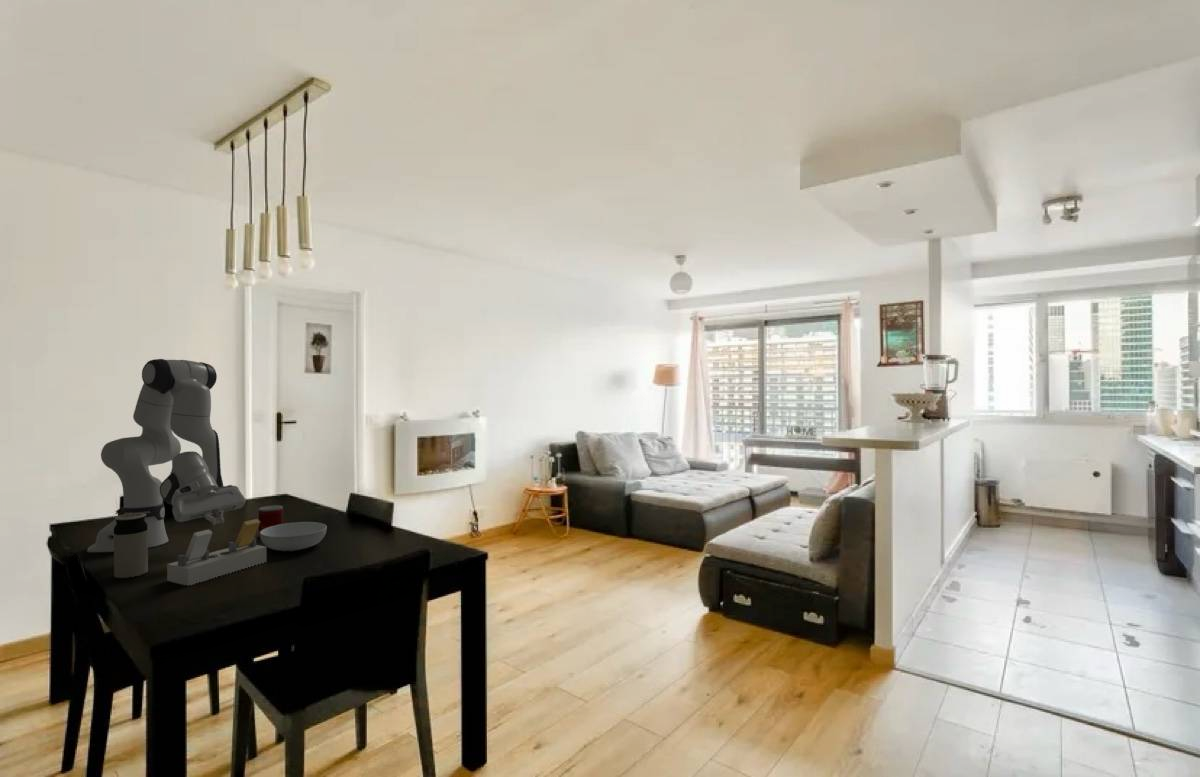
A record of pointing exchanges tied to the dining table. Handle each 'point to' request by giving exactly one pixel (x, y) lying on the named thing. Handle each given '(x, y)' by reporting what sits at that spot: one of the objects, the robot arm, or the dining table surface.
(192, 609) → the dining table surface
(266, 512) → the canned food
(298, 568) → the dining table surface
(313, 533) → the serving bowl
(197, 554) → the white paddle
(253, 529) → the amber paddle
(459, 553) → the dining table surface
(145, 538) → the travel mug
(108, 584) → the dining table surface
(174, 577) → the long paddle holder base
